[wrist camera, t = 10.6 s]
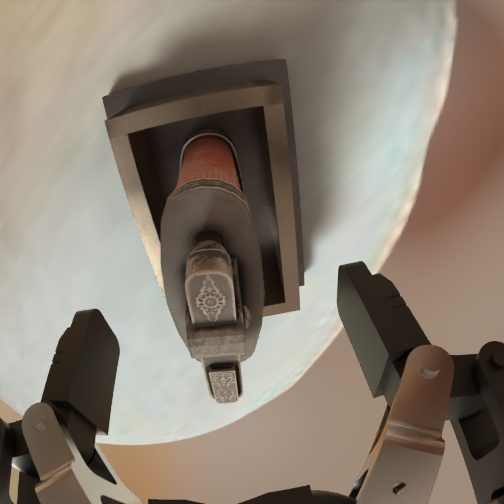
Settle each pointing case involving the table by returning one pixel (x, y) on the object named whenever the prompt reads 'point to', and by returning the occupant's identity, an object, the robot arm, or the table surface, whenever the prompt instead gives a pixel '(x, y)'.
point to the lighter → (213, 262)
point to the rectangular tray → (247, 149)
